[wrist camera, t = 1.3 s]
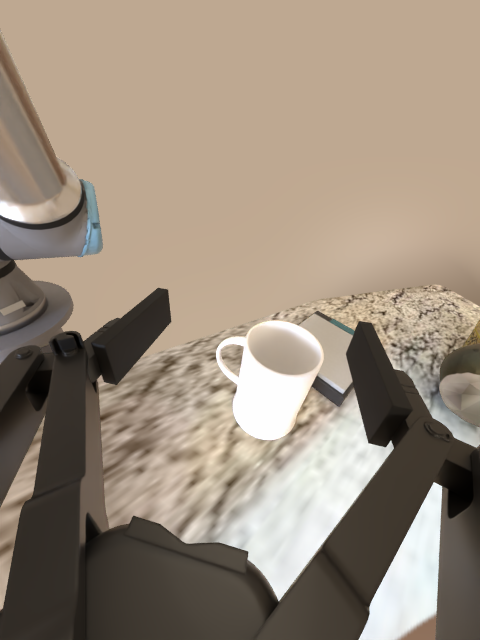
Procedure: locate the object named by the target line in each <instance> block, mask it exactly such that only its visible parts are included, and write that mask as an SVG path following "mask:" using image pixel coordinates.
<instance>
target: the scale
mask: <svg viewBox="0 0 480 640" xmlns="http://www.w3.org/2000/svg"><path fill="white" fill-rule="evenodd" d="M298 326H301V327H303V328H304V329H306V330H307V331H309V332H310V333H311V334H312V335H314V336H315V337H316V339H317V340H318V341H319V343H320V344H321V346H322V349H323V353H324V360H323V363H322V366H321V368H320V370H319V372H318V374H317V376H316V378H315V380H314V382H313V384H312V387H314V388H315V389H316V390H318V391H319V392H320V393H322V394H323V395H324V396H325V397H327V398H328V399H329V400H331V401H332V402H333V403H335V404H336V405H337V406H340V405H341V403H342V402H343V401H344V399H345V398H346V397H347V395H348V394H349V393H350V391H351V390H352V389H353V387H354V385H353V381H352V377H351V373H350V369H349V365H348V361H347V357H346V352H347V349H348V347H349V344H350V342H351V339H352V337H353V335H354V332H355V331H354V330H352V329H351V328H349V327H347V326H345V325H343V324H342V323H340V322H338V321H336V320H335V319H331V318H330V317H328V316H326V315H324V314H322V313H321V312H319V311H316V312H315V313H314V314H312V315H311V316H309V317H308V318H307V319H305V320H304V321H303V322H301V323H300V324H298Z"/></svg>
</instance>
